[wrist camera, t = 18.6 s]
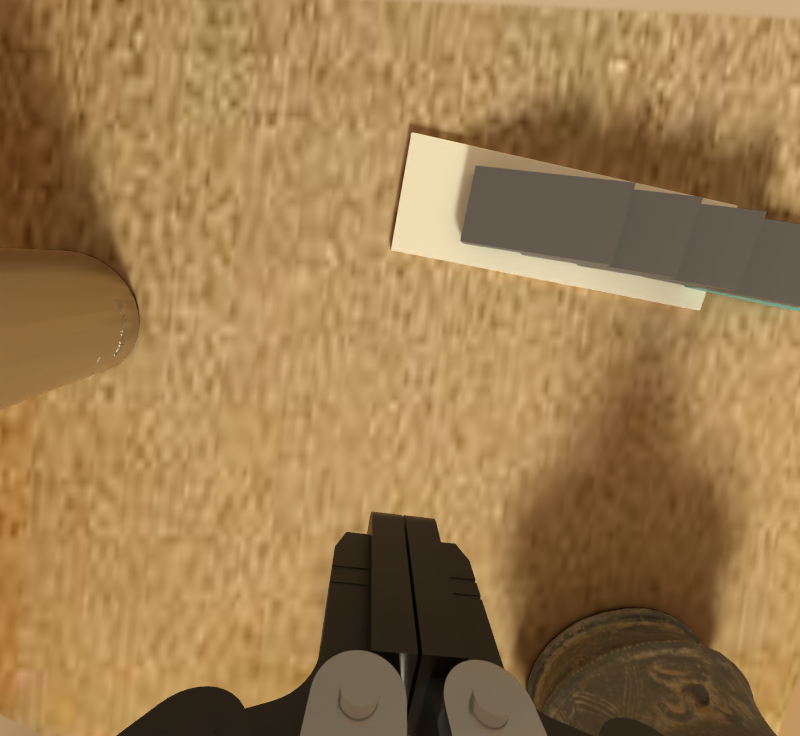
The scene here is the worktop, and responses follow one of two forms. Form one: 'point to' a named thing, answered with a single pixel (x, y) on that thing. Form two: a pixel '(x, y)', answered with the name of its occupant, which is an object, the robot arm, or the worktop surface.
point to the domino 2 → (653, 234)
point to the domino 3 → (716, 247)
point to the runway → (440, 239)
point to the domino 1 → (546, 214)
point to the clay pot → (642, 678)
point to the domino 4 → (771, 266)
